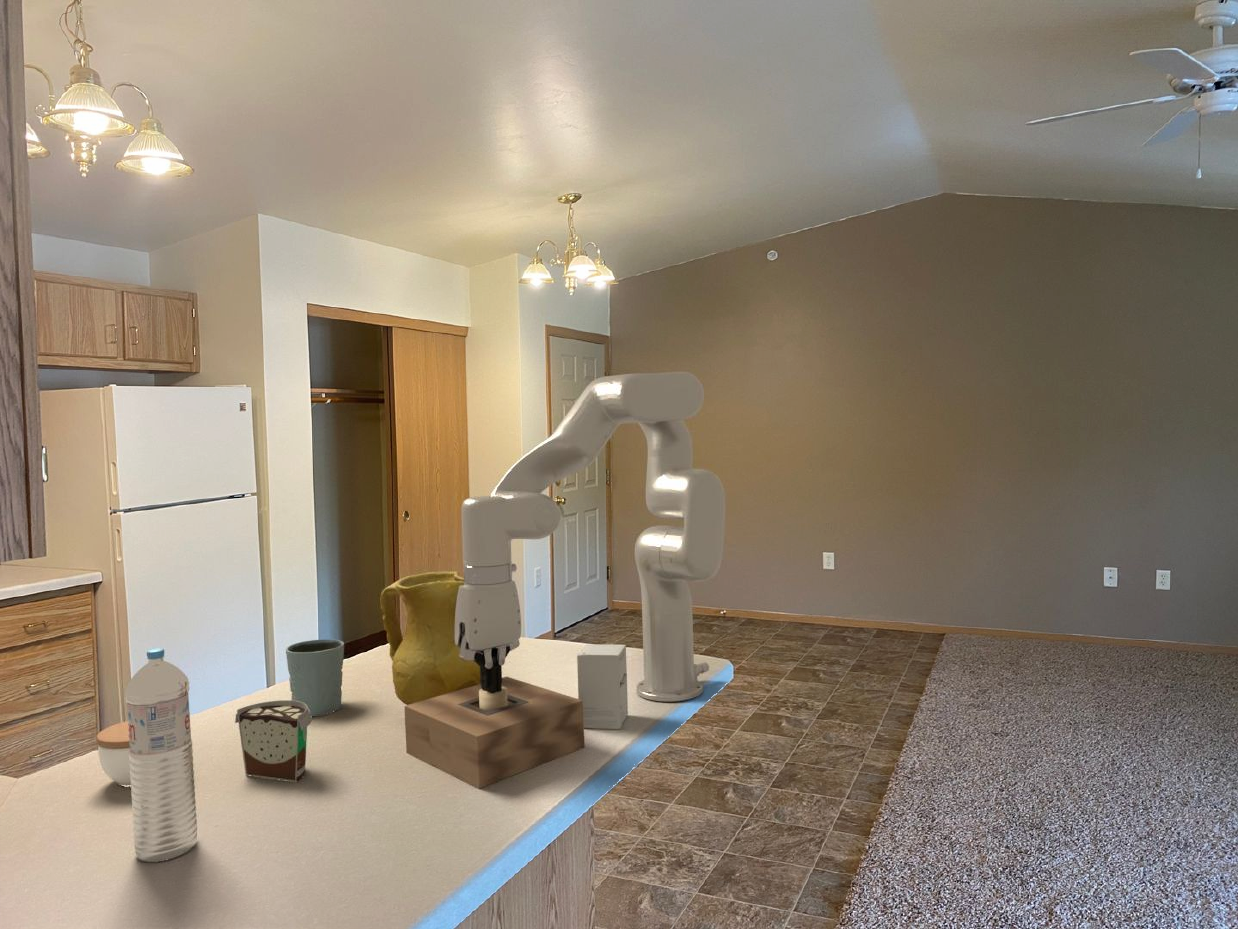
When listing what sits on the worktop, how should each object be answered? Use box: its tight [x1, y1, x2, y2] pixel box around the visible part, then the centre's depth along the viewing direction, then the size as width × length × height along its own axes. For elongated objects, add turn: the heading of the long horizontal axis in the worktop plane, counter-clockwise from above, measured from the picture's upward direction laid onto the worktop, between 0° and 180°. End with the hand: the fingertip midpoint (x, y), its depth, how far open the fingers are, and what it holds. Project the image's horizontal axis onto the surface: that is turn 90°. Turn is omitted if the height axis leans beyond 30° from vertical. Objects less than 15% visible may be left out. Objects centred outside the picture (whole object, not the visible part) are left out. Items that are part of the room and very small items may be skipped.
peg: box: [479, 686, 508, 711], centre depth 130 cm, size 4×4×7 cm
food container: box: [234, 699, 313, 783], centre depth 125 cm, size 12×6×10 cm, turn 71°
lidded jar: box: [96, 720, 131, 786], centre depth 123 cm, size 11×11×9 cm
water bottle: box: [124, 647, 198, 863], centre depth 101 cm, size 7×7×25 cm
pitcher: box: [379, 571, 481, 706], centre depth 148 cm, size 17×19×25 cm
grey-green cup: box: [285, 638, 345, 717], centre depth 153 cm, size 10×10×12 cm
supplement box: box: [576, 643, 629, 730], centre depth 141 cm, size 7×7×13 cm
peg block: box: [404, 676, 585, 790], centre depth 130 cm, size 20×20×8 cm
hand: (491, 690), depth 129 cm, fingers closed
